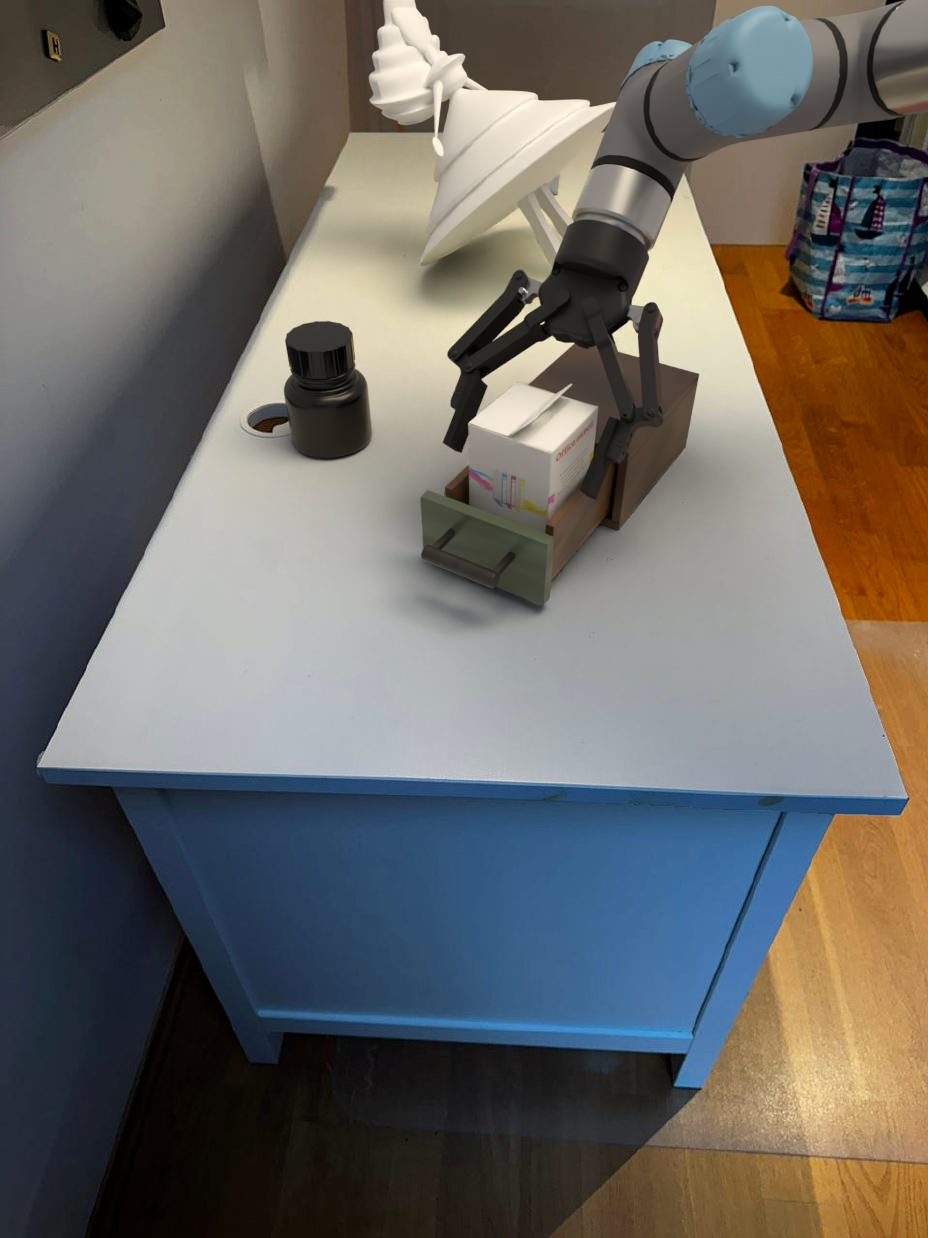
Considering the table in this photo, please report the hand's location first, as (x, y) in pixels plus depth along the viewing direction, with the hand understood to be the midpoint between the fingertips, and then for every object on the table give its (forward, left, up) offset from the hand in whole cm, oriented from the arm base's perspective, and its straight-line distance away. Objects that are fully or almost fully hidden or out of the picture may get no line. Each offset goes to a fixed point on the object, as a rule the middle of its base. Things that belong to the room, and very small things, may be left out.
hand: (517, 471), depth 78 cm
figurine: (+35, -55, -9) cm, 66 cm away
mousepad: (+54, -93, -9) cm, 108 cm away
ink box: (0, -3, -7) cm, 8 cm away
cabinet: (0, -17, -9) cm, 19 cm away
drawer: (0, 0, -8) cm, 8 cm away
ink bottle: (+27, -7, -9) cm, 29 cm away
